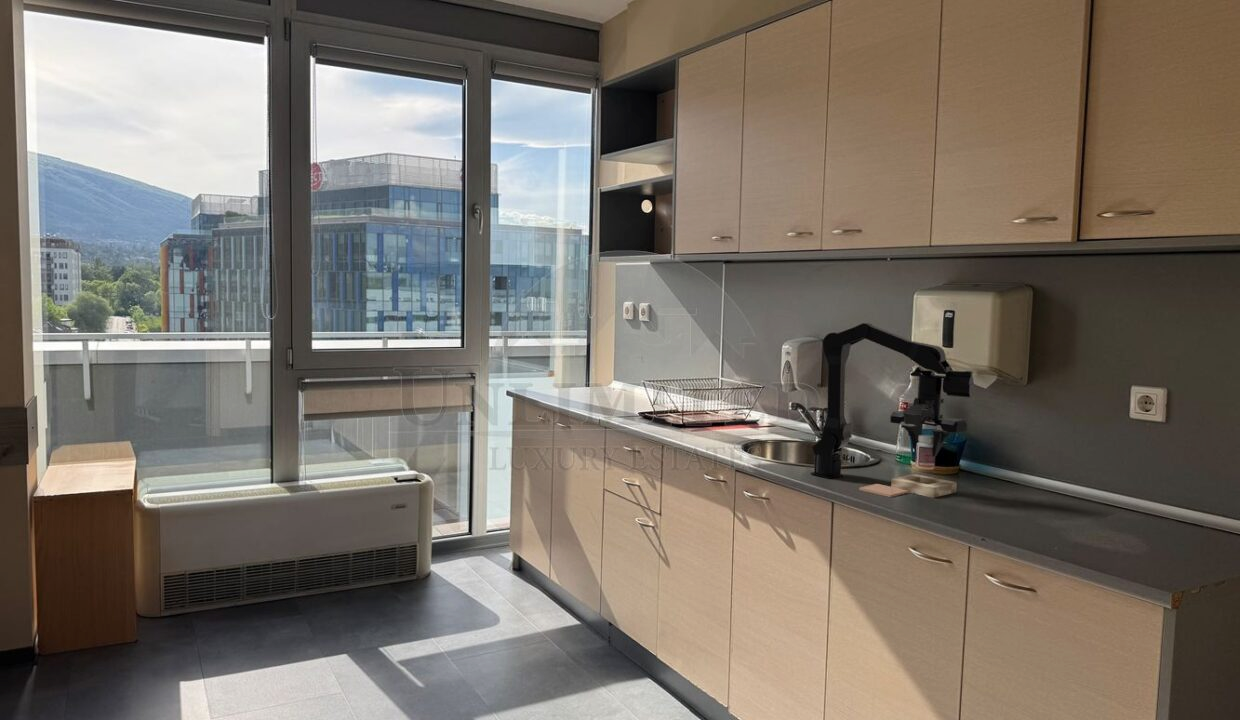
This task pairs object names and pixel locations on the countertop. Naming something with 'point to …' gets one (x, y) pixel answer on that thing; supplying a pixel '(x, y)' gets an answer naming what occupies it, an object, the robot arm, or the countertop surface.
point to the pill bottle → (925, 452)
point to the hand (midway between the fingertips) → (925, 454)
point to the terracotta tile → (883, 490)
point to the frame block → (924, 485)
